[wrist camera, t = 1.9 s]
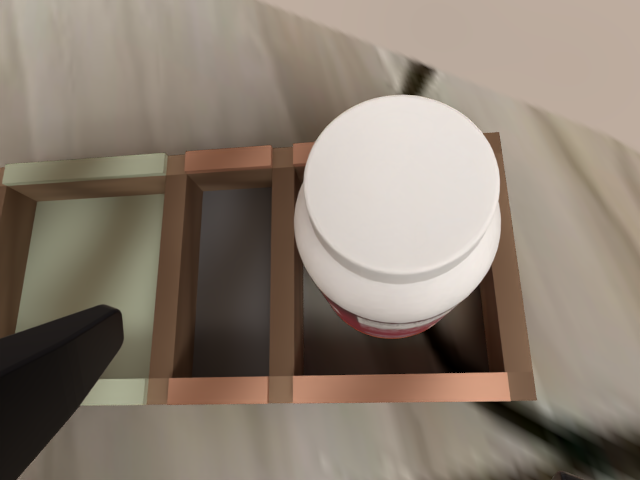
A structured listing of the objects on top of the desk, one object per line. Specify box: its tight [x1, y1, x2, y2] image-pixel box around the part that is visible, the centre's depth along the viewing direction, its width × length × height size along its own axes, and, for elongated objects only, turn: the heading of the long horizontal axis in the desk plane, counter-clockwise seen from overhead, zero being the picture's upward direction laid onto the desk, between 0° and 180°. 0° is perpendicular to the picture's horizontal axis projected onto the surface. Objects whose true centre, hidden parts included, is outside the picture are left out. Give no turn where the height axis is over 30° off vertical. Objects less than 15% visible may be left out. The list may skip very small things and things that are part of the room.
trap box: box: [0, 132, 537, 406], centre depth 21 cm, size 24×11×3 cm, turn 91°
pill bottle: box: [294, 95, 501, 339], centre depth 16 cm, size 6×6×11 cm
